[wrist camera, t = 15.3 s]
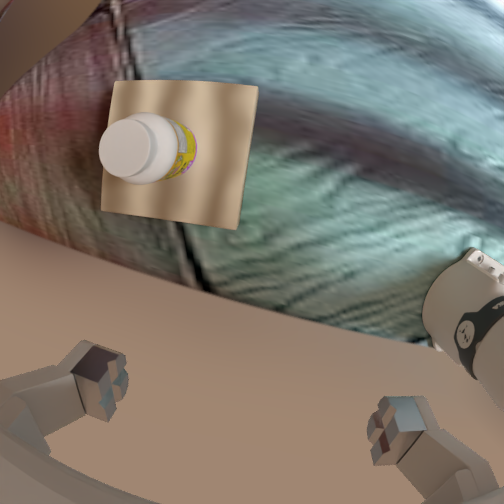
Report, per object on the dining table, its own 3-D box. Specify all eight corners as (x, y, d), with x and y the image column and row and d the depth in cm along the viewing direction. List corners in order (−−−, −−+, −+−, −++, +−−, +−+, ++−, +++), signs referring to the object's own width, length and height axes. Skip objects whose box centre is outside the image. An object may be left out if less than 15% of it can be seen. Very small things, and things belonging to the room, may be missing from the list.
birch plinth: (258, 93, 34) (257, 86, 30) (239, 222, 39) (235, 230, 35) (128, 86, 34) (114, 81, 30) (114, 205, 39) (100, 210, 36)
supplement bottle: (153, 184, 34) (98, 199, 22) (140, 132, 32) (81, 124, 20) (205, 169, 33) (170, 176, 21) (192, 115, 32) (151, 94, 19)
